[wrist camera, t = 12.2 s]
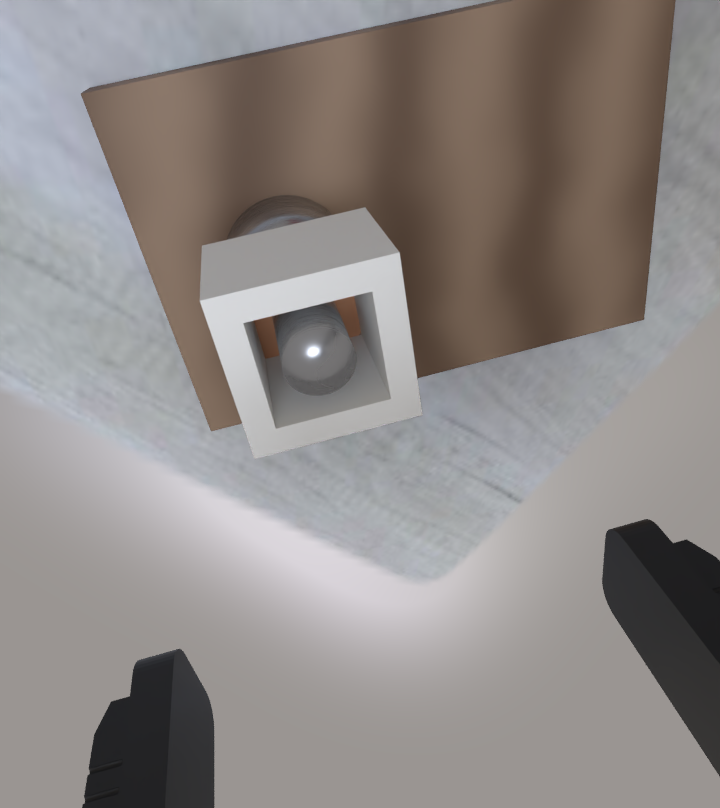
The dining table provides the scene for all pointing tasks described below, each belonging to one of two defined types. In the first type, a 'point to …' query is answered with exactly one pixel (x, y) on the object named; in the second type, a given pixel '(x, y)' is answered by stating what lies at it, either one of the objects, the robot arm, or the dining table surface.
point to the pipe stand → (411, 176)
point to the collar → (300, 288)
